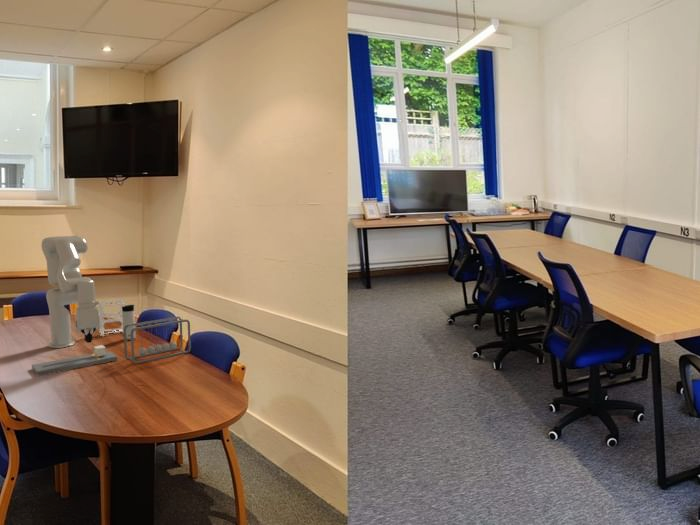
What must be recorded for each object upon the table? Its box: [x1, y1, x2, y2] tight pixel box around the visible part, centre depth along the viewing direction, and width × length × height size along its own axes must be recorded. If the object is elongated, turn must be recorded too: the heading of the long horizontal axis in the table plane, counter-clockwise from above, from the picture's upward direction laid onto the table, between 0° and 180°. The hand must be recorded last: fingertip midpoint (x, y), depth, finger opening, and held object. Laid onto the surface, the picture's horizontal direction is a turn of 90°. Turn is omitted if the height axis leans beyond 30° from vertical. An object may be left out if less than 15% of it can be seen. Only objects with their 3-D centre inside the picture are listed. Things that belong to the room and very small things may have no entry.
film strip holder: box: [97, 299, 126, 337], centre depth 300 cm, size 14×14×20 cm
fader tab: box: [93, 344, 107, 357], centre depth 249 cm, size 5×4×4 cm
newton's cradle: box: [122, 316, 192, 365], centre depth 255 cm, size 30×10×18 cm, turn 134°
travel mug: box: [122, 304, 137, 341], centre depth 286 cm, size 6×7×20 cm
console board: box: [31, 350, 118, 377], centre depth 242 cm, size 13×34×2 cm, turn 132°
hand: (88, 341), depth 246 cm, fingers closed
